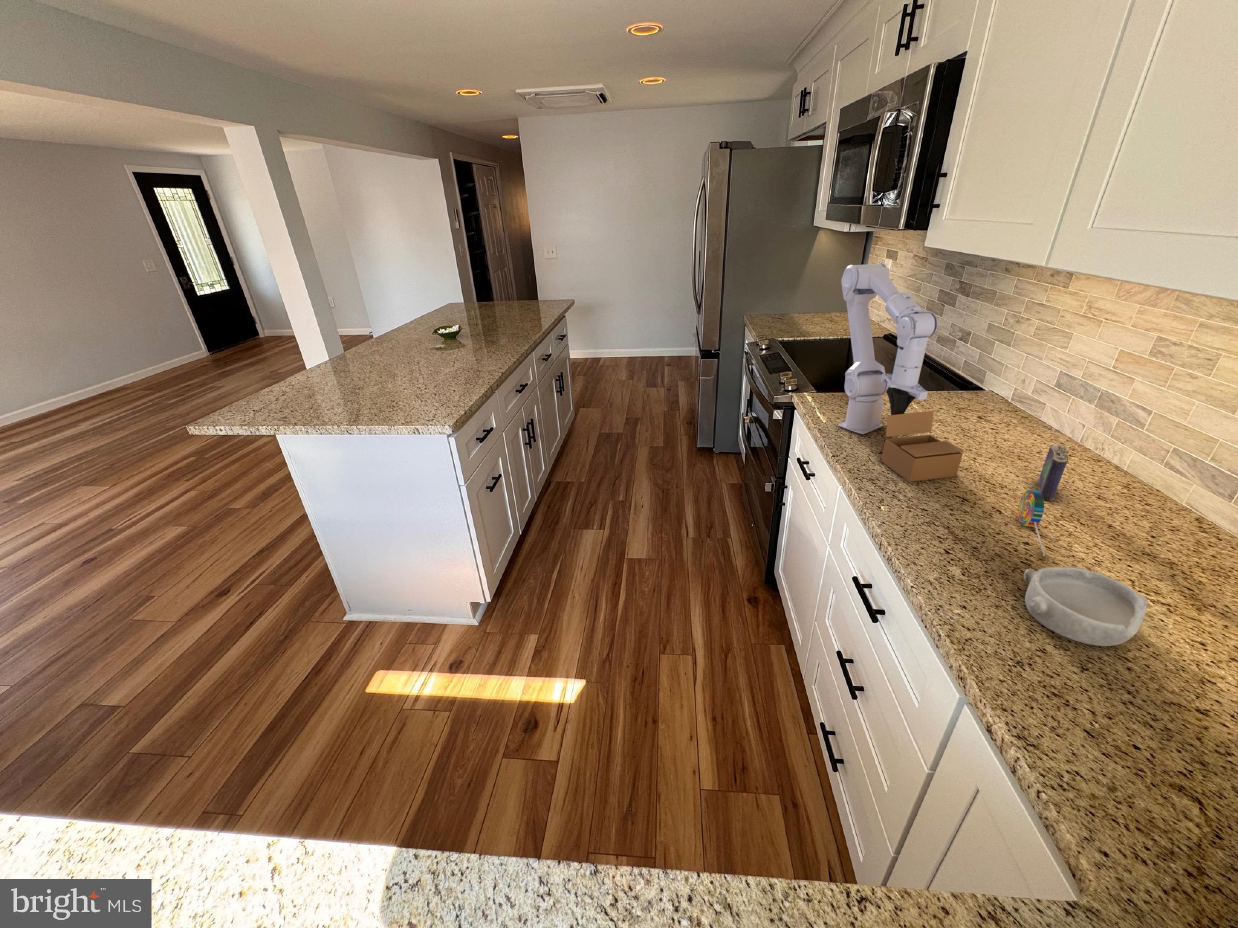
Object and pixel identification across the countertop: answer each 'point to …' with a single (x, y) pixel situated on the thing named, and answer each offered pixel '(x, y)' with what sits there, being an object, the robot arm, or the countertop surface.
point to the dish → (1084, 605)
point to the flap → (909, 423)
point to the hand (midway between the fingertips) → (896, 417)
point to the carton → (921, 457)
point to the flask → (1052, 471)
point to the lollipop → (1031, 510)
